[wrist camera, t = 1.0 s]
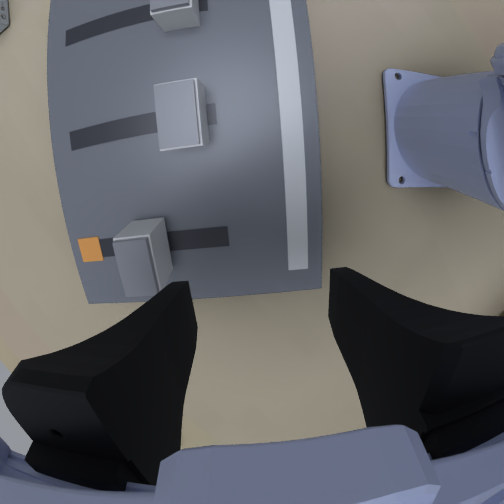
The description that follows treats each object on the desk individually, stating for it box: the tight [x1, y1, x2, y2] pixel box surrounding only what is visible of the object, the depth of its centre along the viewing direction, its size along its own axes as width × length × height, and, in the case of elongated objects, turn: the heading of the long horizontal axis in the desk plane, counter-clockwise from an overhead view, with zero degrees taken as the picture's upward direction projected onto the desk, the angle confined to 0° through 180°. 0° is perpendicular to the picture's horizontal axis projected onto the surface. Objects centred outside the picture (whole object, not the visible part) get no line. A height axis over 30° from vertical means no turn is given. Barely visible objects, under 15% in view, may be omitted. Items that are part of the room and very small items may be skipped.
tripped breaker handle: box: [112, 217, 173, 297], centre depth 16 cm, size 2×3×3 cm, turn 5°
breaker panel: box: [47, 0, 322, 304], centre depth 15 cm, size 16×22×5 cm
